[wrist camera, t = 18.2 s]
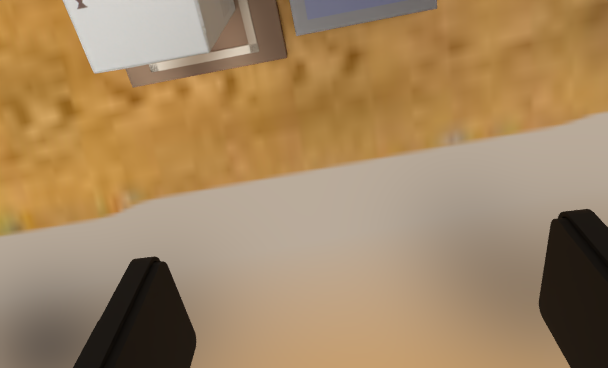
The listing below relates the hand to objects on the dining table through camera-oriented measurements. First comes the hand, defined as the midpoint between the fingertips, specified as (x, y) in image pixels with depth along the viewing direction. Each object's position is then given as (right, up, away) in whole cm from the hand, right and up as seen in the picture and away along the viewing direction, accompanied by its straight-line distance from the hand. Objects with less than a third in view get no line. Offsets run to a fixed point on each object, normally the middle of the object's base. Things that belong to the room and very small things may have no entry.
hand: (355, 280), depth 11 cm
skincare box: (-9, +16, +20) cm, 27 cm away
